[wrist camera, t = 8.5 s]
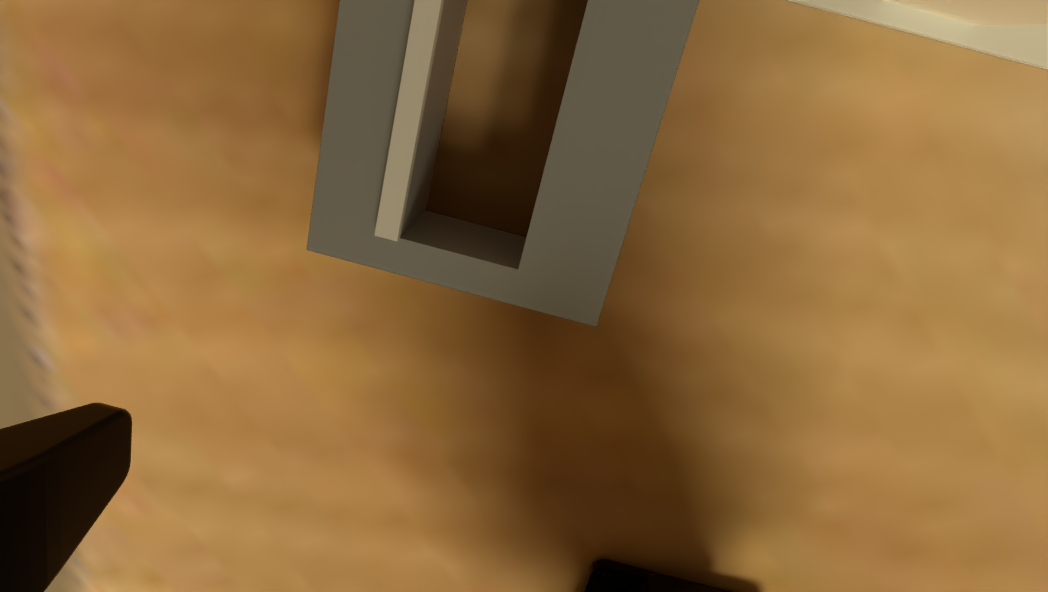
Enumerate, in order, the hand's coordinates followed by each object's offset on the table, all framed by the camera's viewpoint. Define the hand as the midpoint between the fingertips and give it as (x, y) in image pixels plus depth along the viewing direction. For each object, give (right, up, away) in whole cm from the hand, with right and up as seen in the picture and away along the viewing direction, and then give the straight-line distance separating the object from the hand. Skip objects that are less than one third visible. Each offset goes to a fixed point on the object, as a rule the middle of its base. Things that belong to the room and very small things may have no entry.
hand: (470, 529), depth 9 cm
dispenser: (0, +9, +11) cm, 14 cm away
